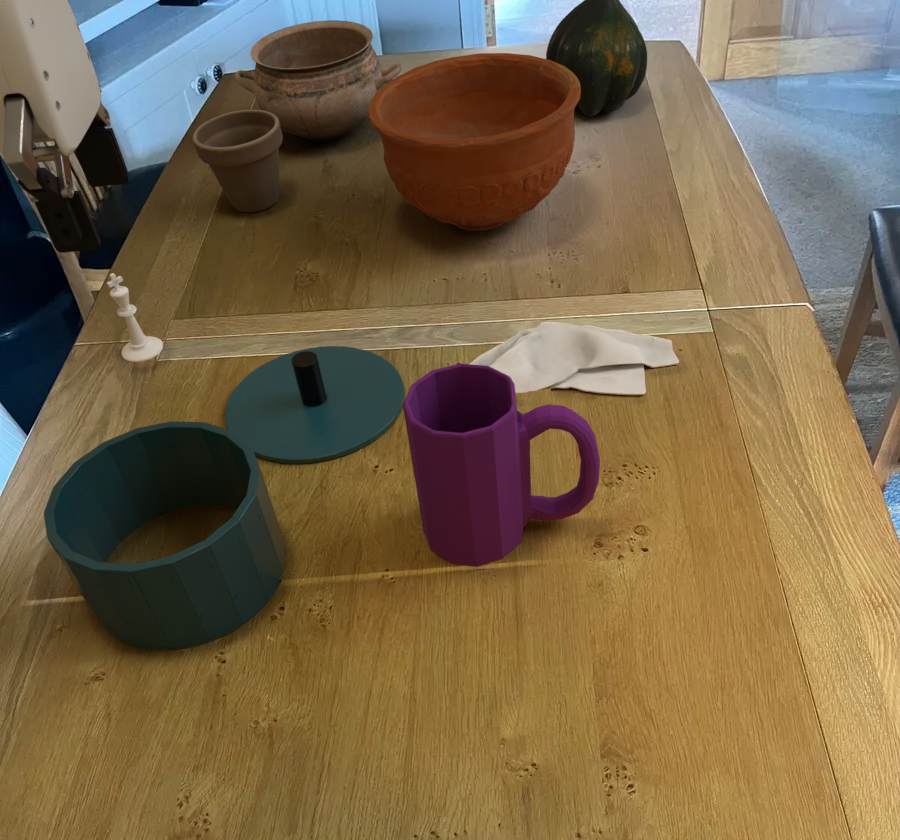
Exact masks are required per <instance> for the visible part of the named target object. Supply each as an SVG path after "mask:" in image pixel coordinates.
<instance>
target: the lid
mask: <svg viewBox="0 0 900 840" xmlns="http://www.w3.org/2000/svg"><path fill="white" fill-rule="evenodd" d="M404 401H405V386H404V382H403V378H402V376H401V374H400V373H399V371H398V370H397V369H396V367H395V366H394V365H393V364H392V363H390V362H389V361H388V360H387V359H386V358H384V357H382V356H380V355H378V354H376V353H374V352H371V351H369V350H366V349H362V348H357V347H352V346H341V345H328V346H316V347H309V348H303V349H300V350H299V349H298V350H295V351H293V352H289V353H286V354H283V355H280V356H278V357H275V358H273V359H271V360H269V361H267V362H265V363H264V364H262V365H260V366H258V367H256V369H254V370H252V371H251V372H250V373H248V374H247V375H246V376H245V377H244V378H243V379H242V380H241V381H240V382H239V383H238V384H237V385H236V387H235V388H234V390H233V391H232V392H231V394H230V396H229V398H228V400H227V402H226V403H227V404H226V407H225V414H224V416H225V424H226V427H227V429H228V430H231V431H233V432H234V433H235V434H236V435H238V436H239V437H240V438H241V439H243V440H244V441H245V442H246V443H247V444H249V445H250V446H251V447H252V448H253V451H254V454H255V456H256V458H259V459H262V460H266V461H269V462H273V463H279V464H289V465H290V464H292V465H298V464H299V465H303V464H314V463H321V462H322V463H323V462H327V461H332V460H335V459H339V458H342V457H345V456H347V455H350V454H352V453H355V452H357V451H359V450H361V449H363V448H365V447H366V446H368V445H370V444H372V443H373V442H375V441H376V440H378V439H379V438H380V437H381V436H383V435H384V434H385V433H386V432H387V431H388V430H390V428H391V427H392V426H393V424H394V423H395V422H396V420H397V419H398V417H399V415H400V414H401V412H402V410H403V404H404Z"/></svg>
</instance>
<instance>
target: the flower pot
mask: <svg viewBox="0 0 900 840" xmlns="http://www.w3.org/2000/svg"><path fill="white" fill-rule="evenodd" d="M282 131H283V130H281V127H280V122H279V120H278V118H277V117H276V116H275V115H274V114H272V113H270V112H267V111H263V110H260V109H241V110H235V111H229V112H226V113H221V114H220V115H216V116H214V117H212V118H210V119H208V120H206V121H205V122H203V123H202V124H201V125H199V126H198V127H197V128H196V129H195V130H194V132H193V134H192V143H193V145H194V148H195V151H196V153H197V156H198V158H199V160H201V161H202V162H203V163H205V164H207V165H208V166H209V168H210V169H211V171H212V173H213V175H214V177H215V178H216V180H217V182H218V184H219V186H220V188H221V189H222V191H223V192H224V194H225V196H226V197H227V200H228V201H229V202H230V203H231V205H232V208H234V209H235V210H236V211H239V212H242V213H257V212H261V211H264V210H267V209H268V208H271V207H272V206H273V205H275V204H276V203H277V202H278V200H279V198H280V158H279V157H280V156H279V155H280V154H279V148H280V146H282V143H283V140H284V139H283V137H284V136H283V132H282Z"/></svg>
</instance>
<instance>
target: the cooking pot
mask: <svg viewBox="0 0 900 840" xmlns="http://www.w3.org/2000/svg"><path fill="white" fill-rule="evenodd" d="M373 38H374V36H373V32H372V30H371V29H370V28H369V27H367V26H366V25H364V24H361V23H358V22H355V21H349V20H334V19H333V20H332V19H331V20H315V21H309V22H304V23H303V22H302V23H297V24H293V25H290V26H287V27H284V28H281V29H278V30H276V31H273V32H271V33H268V34H267V35H265V36H263V37H261V38H260V39H259V40H258V41H256V42H255V43H254V45H253V46H252V47H251V49H250V53H249V55H250V57H251V59H252V61H254V62H255V66H254V72H251V71H247V70H242V69H241V70H240V69H239V70H237V71H235V73H234V80H235V82H236V83H237V84H239V86H241V87H242V88H243V89H245V90H247V91H248V92H250V93H252V94H254V97H255V100H256V104H257V106H258V108H259V110H263V111H267V112H270V113H272V114H274V115H275V116H276V117H277V118H278V120H279V122H280V127H281V131H283V132H286V133H288V134H291V135H294V136H297V137H300V138H304V139H307V140H309V141H311V142H317V143H327V142H334V141H337V140H340V139H342V138H344V137H345V136H347V135H349V133H350V132H352V131H353V130H355V129H356V128H357V127H358V126H360V125H361V124H362V123H363V122H365V121H366V120H367V119H369V114H368V109H369V104H370V103H371V101H372V99H373V97H374V95H375V94H376V93H377V92H378V91H379V90H380V89H381V88H383V87H384V86H385V85H386V84H388V83H389V82H390V81H392V80H393V79H394V78H396V77H398V76H399V74H400V73H401V72H402V65H401V64H399V63H396V64H393V65H391V66H390V65H389V66H382V63H381V62H380V59H379V57H378V55H377V52H376V51H375V49H374V48H373V45H372V44H371V43H372V41H373ZM243 78H244V79H243ZM245 79H249V80H251V81H253V82H249V81H246V80H245Z"/></svg>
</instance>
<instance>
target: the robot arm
mask: <svg viewBox="0 0 900 840" xmlns="http://www.w3.org/2000/svg"><path fill="white" fill-rule="evenodd" d="M100 87H101V85H100V83H99V79H98V77H97V74H96V71H95V67H94V64H93V61H92V59H91V54H90V51H89V49H88V48H87V45H86V42H85V39H84V37H83V34H82V32H81V30H80V27H79V24H78V22H77V19H76V17H75V15H74V11H73V9H72V7H71V5H70V2H69V0H0V154H1V156H2V158H3V161H4V163H5V165H6V166H7V167H8V169H9V170H10V172H12V174H13V175H14V176H15V177H16V178H17V184H18V185H19V186H20V188H21V189H22V190H23V191H24V192H26V194H27V197H28V199H29V201H30V202H32V203H34V205H35V207H36V209H37V211H38V214H39V216H40V218H41V220H42V223H43V225H44V227H45V229H46V231H47V233H48V236H49V238H50V240H51V242H52V245H53V248H54V249H55V250H56V252H58V253H62V254H63V253H64V254H65V253H74V252H84V251H95V250H98V249H99V248H100V246H101V244H102V240H101V238H100V235H99V233H98V230H97V228H96V225H95V222H94V221H93V218H92V215H91V213H90V210H89V208H88V206H87V204H86V201H85V199H84V196H83V193H82V191H81V190H79V189H78V190H75V189H74V182H73V176H72V175H73V174H72V168H71V160H70V156H71V155H73V153H74V152H75V154H76V156H77V159H78V161H79V164H80V166H81V169H82V171H83V175H84V177H85V179H86V181H87V184H88V185H89V186H90V187H91V188H100V187H110V186H119V185H120V186H121V185H126V184H128V183H129V180H130V178H131V176H130V173H129V170H128V167H127V165H126V162H125V159H124V157H123V156H124V155H123V154H122V150H121V148H120V145H119V142H118V140H117V137H116V134H115V132H114V129H113V127H111V123H112V121H111V116H110V112H109V111H108V109H107V108H106V107H105V106H104V105H103V103H102V89H101V88H100ZM48 142H53V143H54V144H53V145H45V146H35V147H34V144H39V143H48ZM44 162H45V163H46V162H54V166H55V172H56V175H55V174H54V173H52V172H51V171H50V170H49V169H47V168H46V167H40V166H39V163H44Z"/></svg>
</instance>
